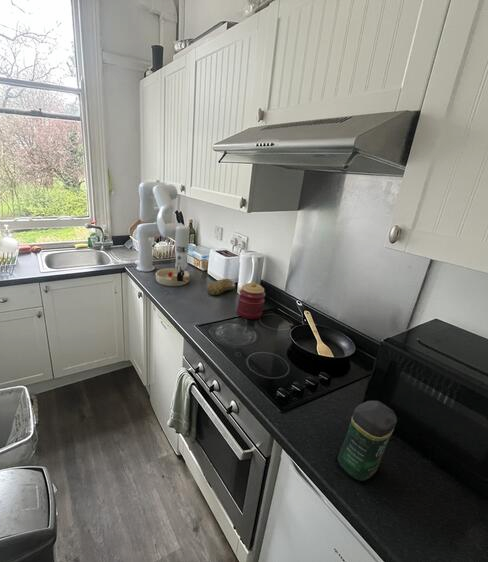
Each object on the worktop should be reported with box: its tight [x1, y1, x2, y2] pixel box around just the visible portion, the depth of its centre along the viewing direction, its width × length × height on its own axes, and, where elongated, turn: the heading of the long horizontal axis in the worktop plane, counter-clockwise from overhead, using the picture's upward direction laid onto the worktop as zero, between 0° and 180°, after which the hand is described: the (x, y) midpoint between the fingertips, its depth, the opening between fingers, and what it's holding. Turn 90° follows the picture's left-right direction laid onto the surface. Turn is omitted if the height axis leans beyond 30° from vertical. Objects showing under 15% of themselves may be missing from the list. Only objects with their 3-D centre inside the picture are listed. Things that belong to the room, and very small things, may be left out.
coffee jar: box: [337, 400, 398, 482], centre depth 73 cm, size 10×8×19 cm
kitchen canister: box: [236, 281, 266, 320], centre depth 150 cm, size 13×13×18 cm
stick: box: [171, 274, 191, 283], centre depth 169 cm, size 10×3×3 cm, turn 80°
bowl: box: [155, 267, 190, 287], centre depth 189 cm, size 21×21×4 cm
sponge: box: [206, 278, 236, 296], centre depth 176 cm, size 13×8×20 cm
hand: (180, 279), depth 169 cm, fingers closed on stick, 2 cm apart
